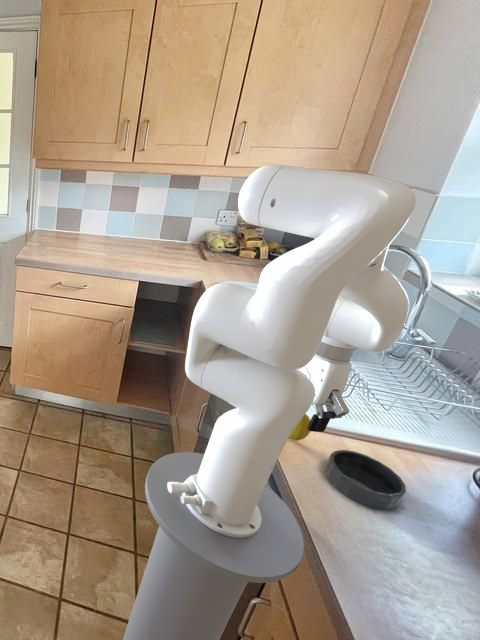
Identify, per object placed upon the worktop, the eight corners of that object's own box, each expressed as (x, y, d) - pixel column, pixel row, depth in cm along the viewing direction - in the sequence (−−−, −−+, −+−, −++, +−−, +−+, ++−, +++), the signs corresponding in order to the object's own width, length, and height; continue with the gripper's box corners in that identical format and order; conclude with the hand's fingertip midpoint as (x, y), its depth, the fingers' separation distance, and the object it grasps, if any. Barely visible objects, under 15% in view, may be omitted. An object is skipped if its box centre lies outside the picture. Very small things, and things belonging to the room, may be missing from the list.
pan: (354, 509, 78) (362, 496, 76) (310, 461, 88) (316, 448, 86) (414, 511, 77) (423, 498, 76) (363, 462, 88) (370, 450, 86)
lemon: (274, 426, 97) (285, 399, 94) (303, 436, 94) (316, 409, 91) (273, 440, 93) (285, 412, 90) (303, 452, 90) (317, 423, 87)
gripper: (281, 325, 91) (256, 389, 98) (346, 371, 75) (310, 443, 82) (315, 327, 91) (287, 390, 98) (387, 373, 75) (348, 445, 82)
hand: (298, 414), depth 90 cm, fingers open, 9 cm apart
